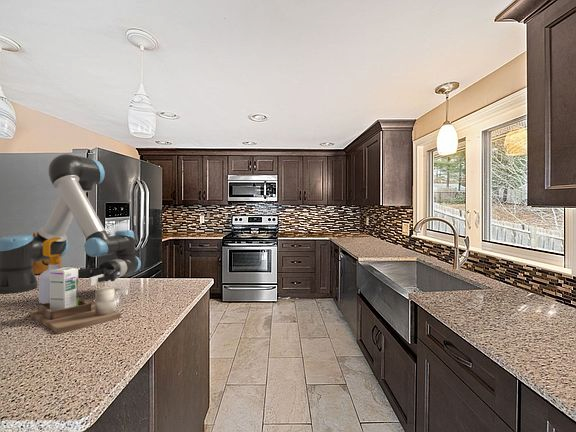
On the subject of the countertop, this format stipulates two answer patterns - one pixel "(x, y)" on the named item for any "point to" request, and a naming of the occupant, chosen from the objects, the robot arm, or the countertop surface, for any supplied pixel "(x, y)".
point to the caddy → (79, 312)
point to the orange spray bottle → (43, 264)
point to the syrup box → (63, 288)
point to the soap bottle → (47, 271)
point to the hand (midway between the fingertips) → (71, 280)
